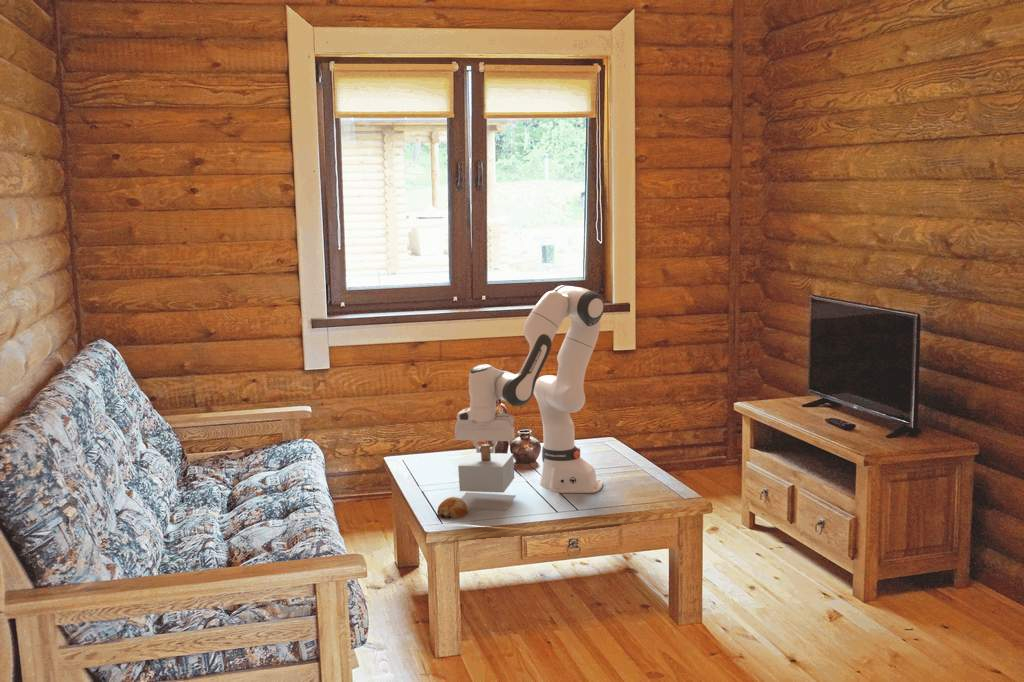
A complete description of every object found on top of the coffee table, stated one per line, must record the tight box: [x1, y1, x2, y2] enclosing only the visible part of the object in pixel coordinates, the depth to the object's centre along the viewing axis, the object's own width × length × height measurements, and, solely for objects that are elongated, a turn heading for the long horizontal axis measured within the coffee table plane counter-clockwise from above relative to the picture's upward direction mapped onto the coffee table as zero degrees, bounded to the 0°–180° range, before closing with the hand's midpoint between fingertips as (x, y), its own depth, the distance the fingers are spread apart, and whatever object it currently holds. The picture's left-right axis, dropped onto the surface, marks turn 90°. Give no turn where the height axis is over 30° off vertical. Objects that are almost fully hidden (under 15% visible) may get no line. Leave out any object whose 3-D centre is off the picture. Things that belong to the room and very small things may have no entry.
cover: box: [457, 443, 515, 493], centre depth 348 cm, size 15×15×14 cm
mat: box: [460, 491, 517, 512], centre depth 350 cm, size 18×16×1 cm
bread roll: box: [437, 496, 469, 520], centre depth 338 cm, size 10×10×8 cm
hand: (485, 452), depth 347 cm, fingers closed on cover, 3 cm apart
